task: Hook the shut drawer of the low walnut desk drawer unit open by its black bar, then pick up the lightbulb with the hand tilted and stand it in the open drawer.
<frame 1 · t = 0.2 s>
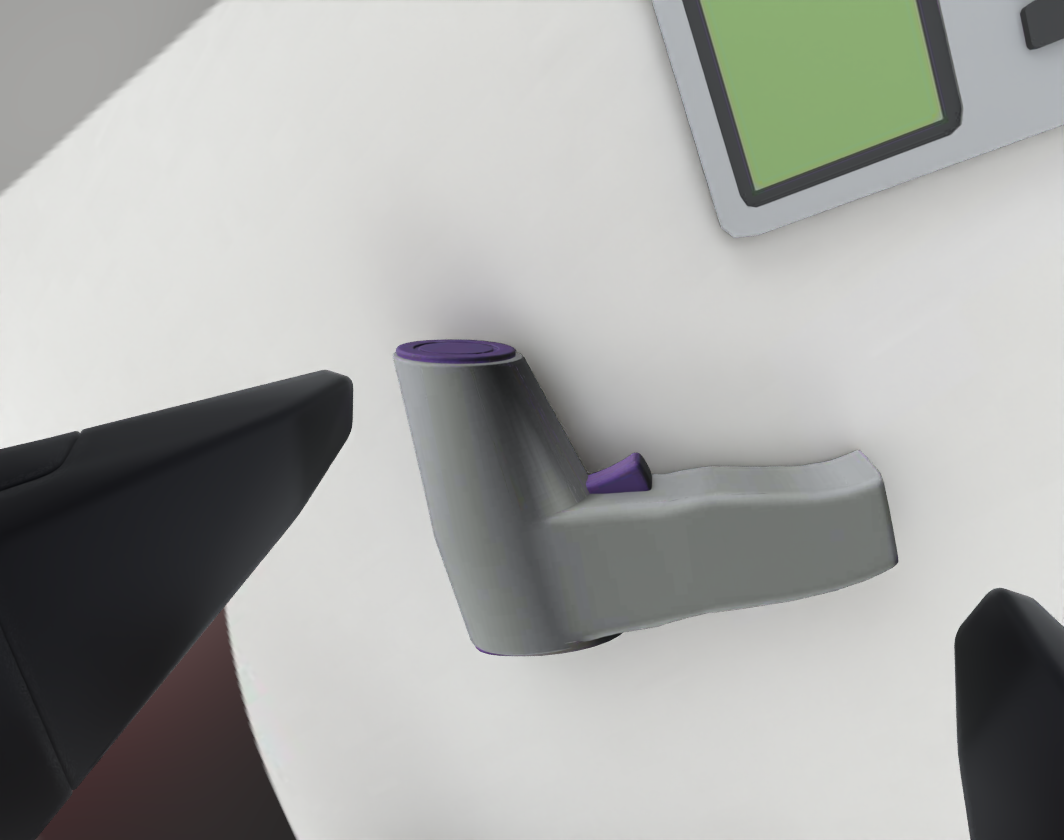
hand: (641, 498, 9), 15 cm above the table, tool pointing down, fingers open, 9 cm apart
infrared thermometer: (638, 441, 25), on the table
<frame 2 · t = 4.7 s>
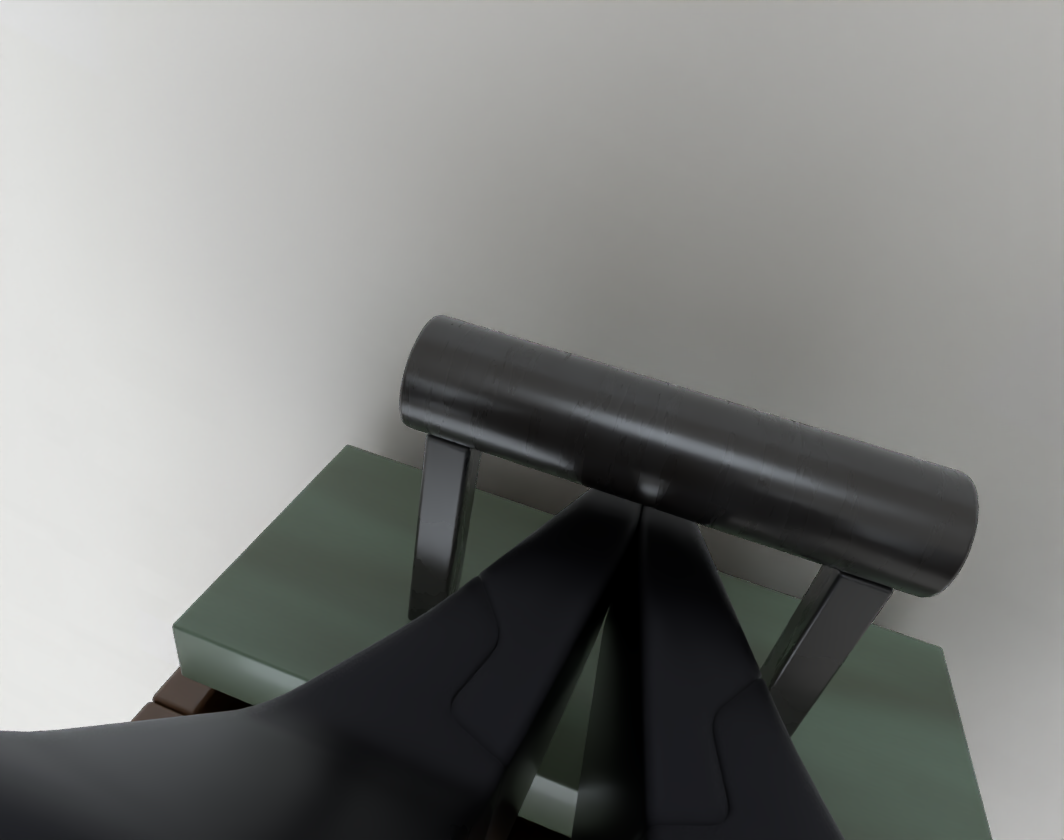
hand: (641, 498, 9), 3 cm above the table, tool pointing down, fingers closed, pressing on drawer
drawer unit: (543, 768, 19), on the table
drawer: (541, 791, 13), point 3 cm above the table, slide at 0.8 cm, touching gripper
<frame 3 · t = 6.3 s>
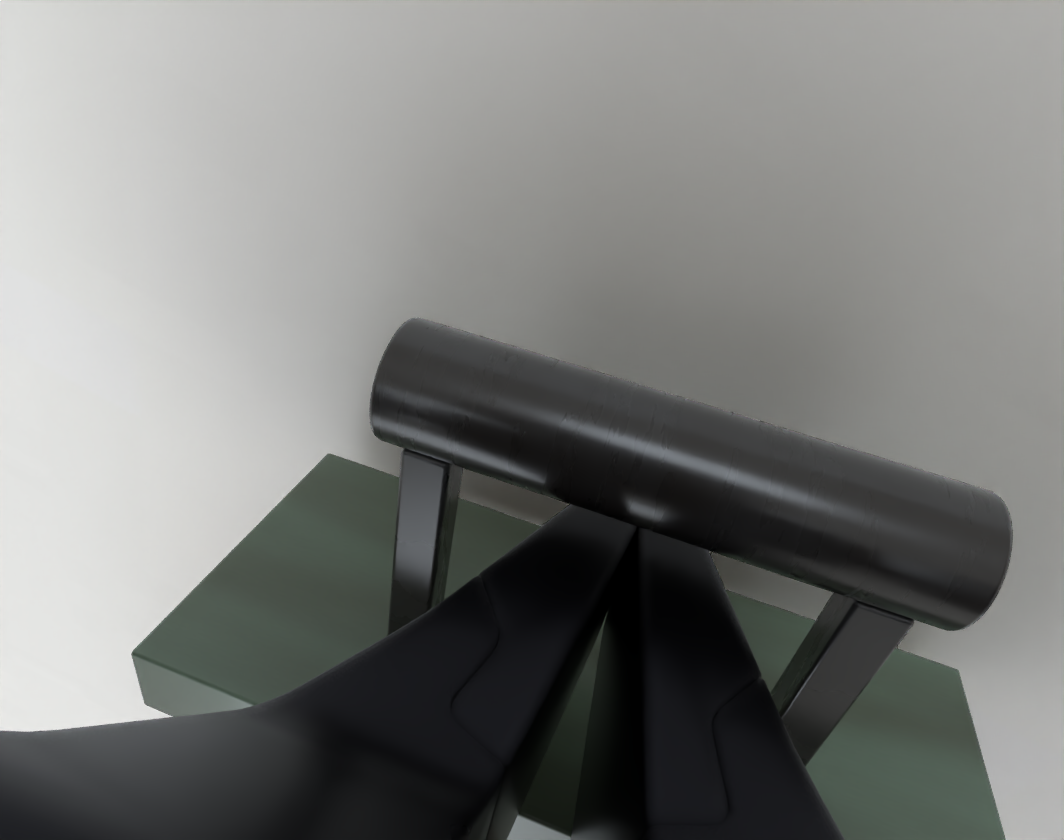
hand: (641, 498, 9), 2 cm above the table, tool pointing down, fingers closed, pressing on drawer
drawer: (534, 819, 13), point 3 cm above the table, slide at 7.9 cm, touching gripper
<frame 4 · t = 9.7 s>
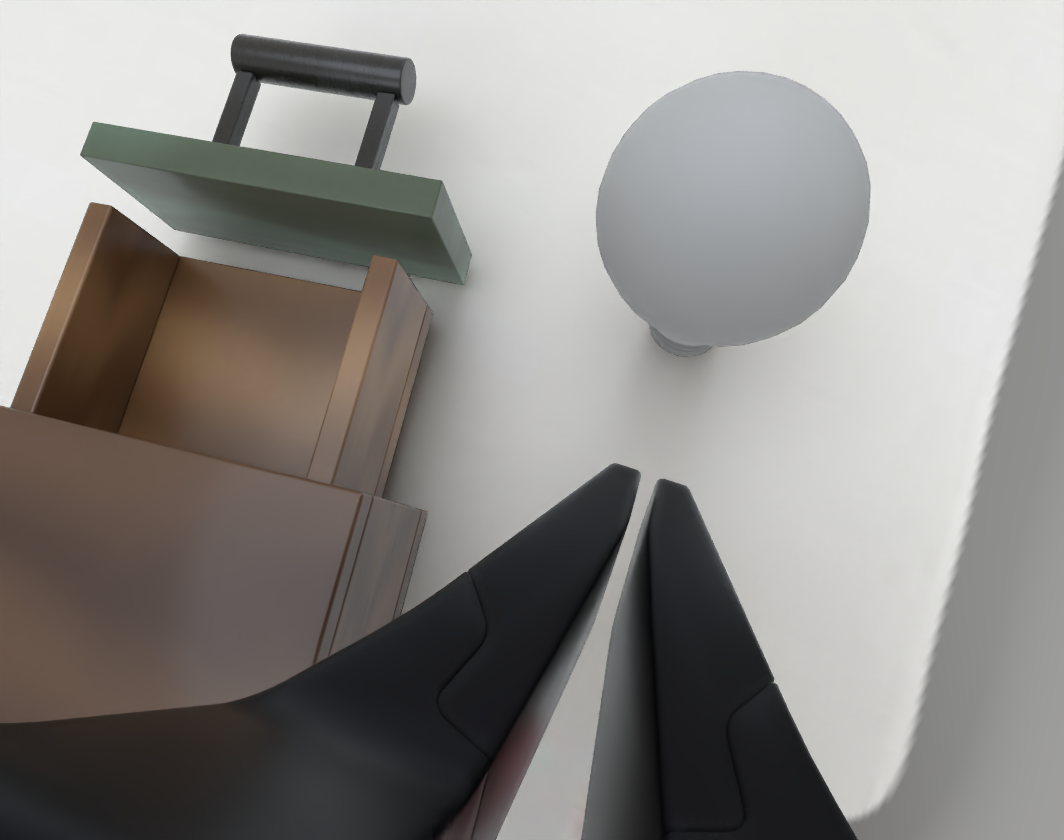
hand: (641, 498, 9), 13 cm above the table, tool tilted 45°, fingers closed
drawer unit: (189, 697, 23), on the table
lightbulb: (682, 331, 24), on the table
drawer: (251, 326, 22), point 3 cm above the table, slide at 7.9 cm
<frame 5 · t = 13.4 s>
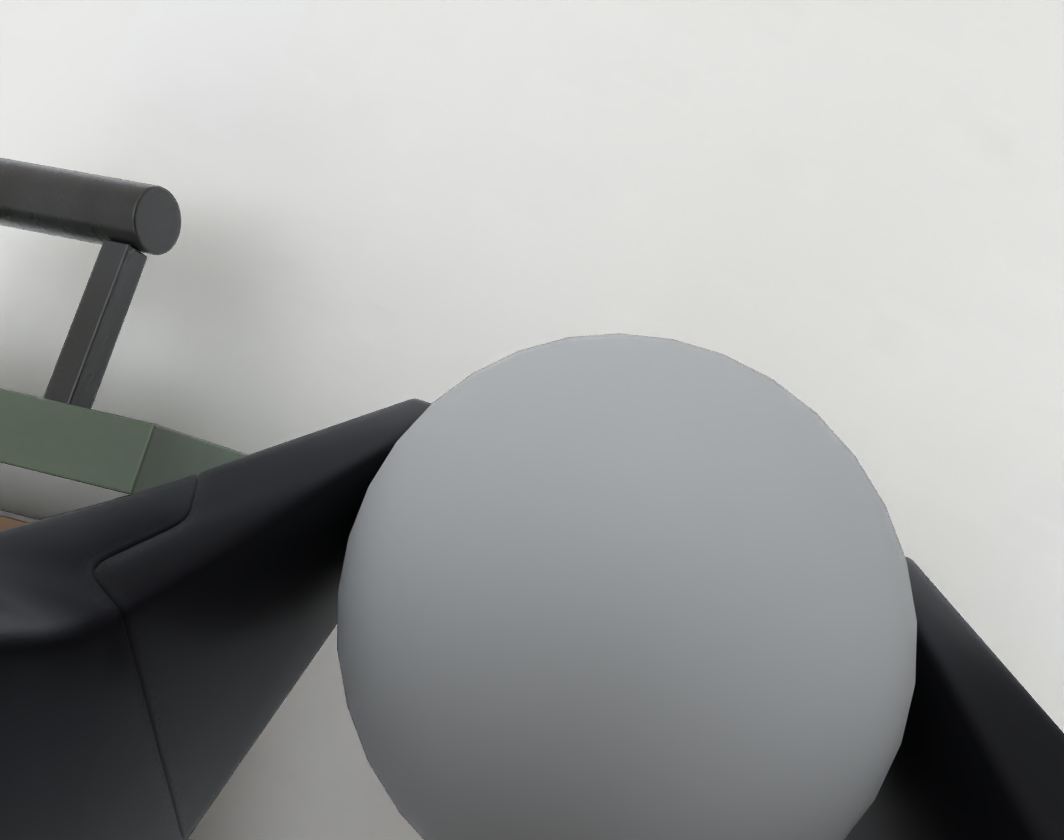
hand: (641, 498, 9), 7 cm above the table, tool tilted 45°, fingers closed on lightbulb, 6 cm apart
lightbulb: (601, 584, 16), on the table, touching gripper
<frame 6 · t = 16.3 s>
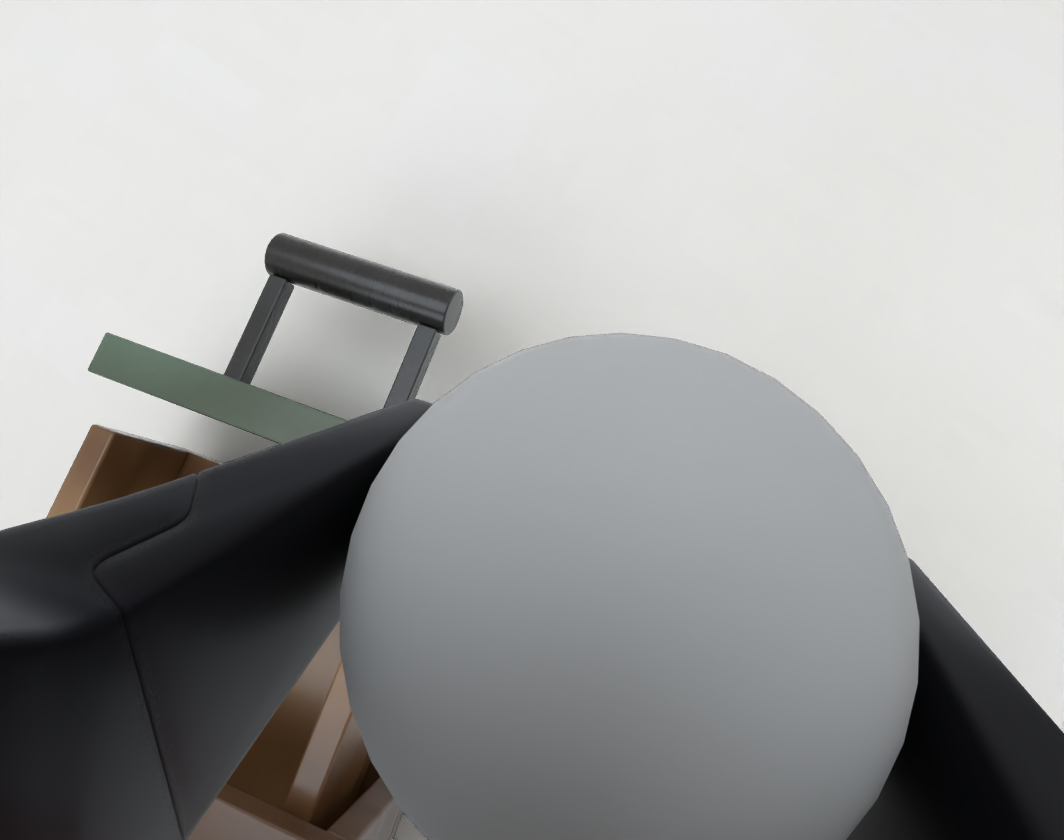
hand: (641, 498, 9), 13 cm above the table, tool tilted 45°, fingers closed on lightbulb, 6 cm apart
lightbulb: (602, 583, 16), point 6 cm above the table, touching gripper
drawer: (251, 566, 20), point 3 cm above the table, slide at 7.9 cm
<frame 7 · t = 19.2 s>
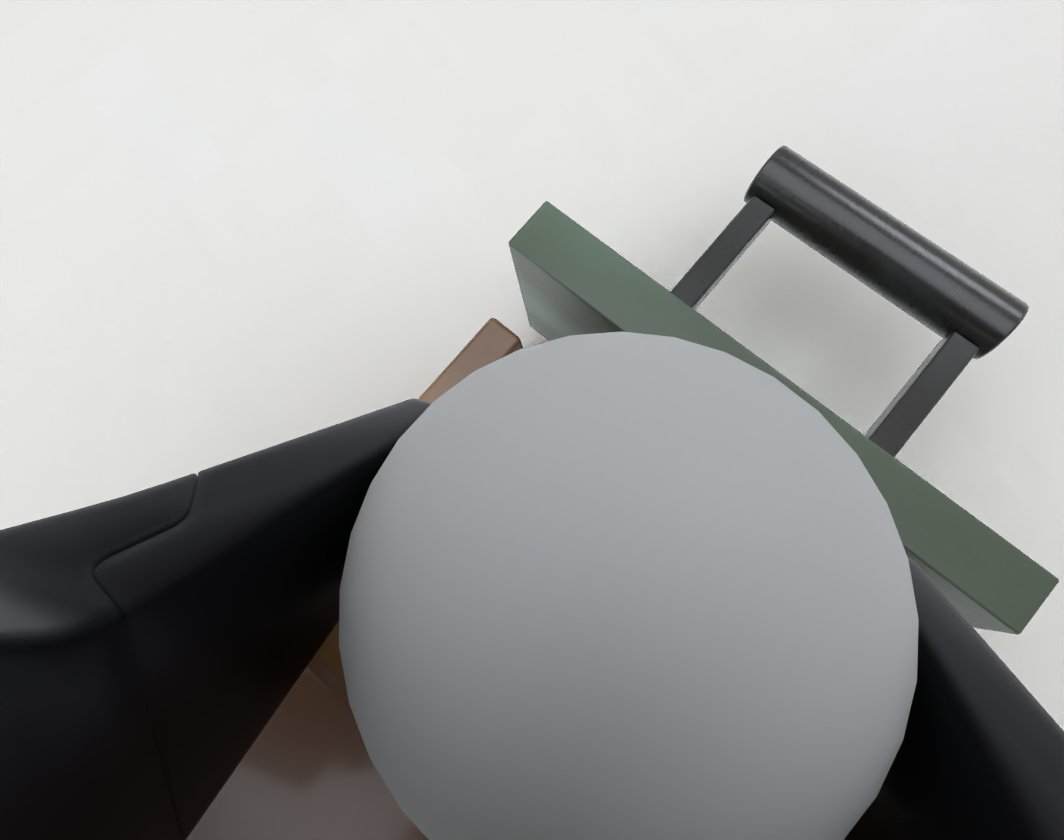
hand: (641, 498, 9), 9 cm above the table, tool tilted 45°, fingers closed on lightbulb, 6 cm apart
lightbulb: (602, 583, 16), point 2 cm above the table, touching drawer, gripper
drawer: (610, 572, 14), point 3 cm above the table, slide at 8.1 cm, touching lightbulb
when the fingers open (9 cm above the table, at t = 19.4 s): lightbulb stays where it is, resting on drawer.
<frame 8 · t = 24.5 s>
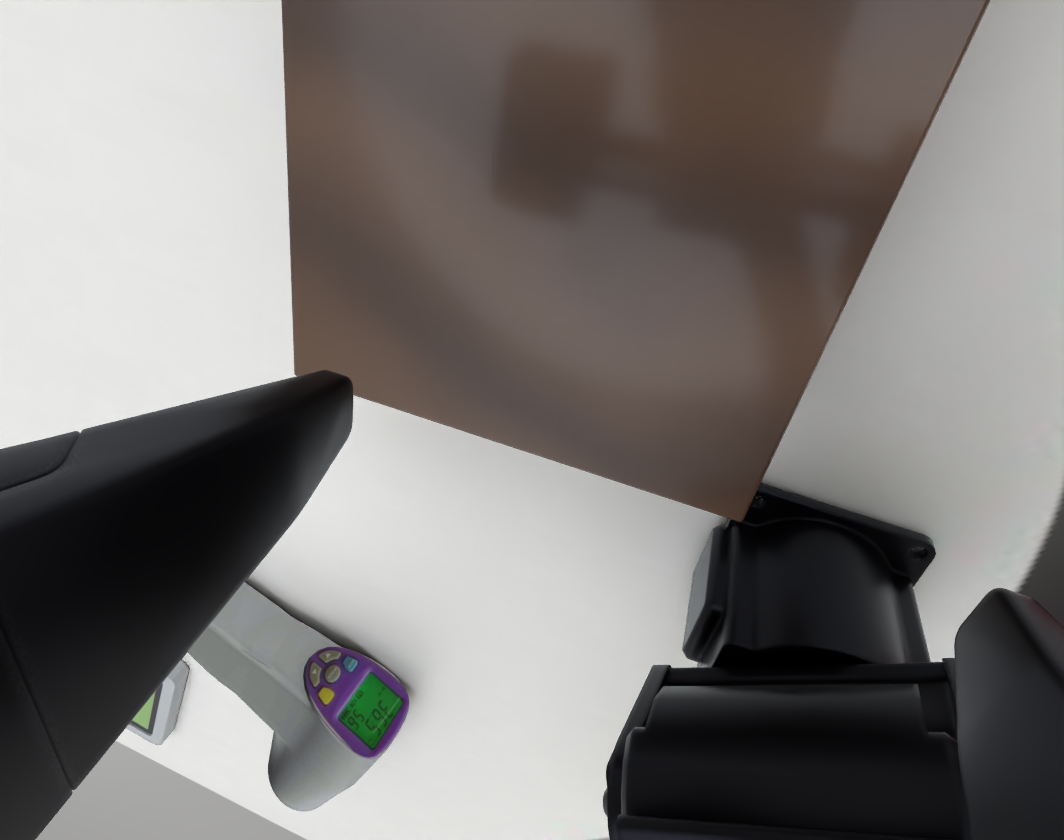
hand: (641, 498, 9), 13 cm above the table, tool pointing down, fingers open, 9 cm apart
drawer unit: (623, 98, 19), on the table
handheld gaming console: (87, 642, 46), on the table
infrared thermometer: (279, 657, 39), on the table
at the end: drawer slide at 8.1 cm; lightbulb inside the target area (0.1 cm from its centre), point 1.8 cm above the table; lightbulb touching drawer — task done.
